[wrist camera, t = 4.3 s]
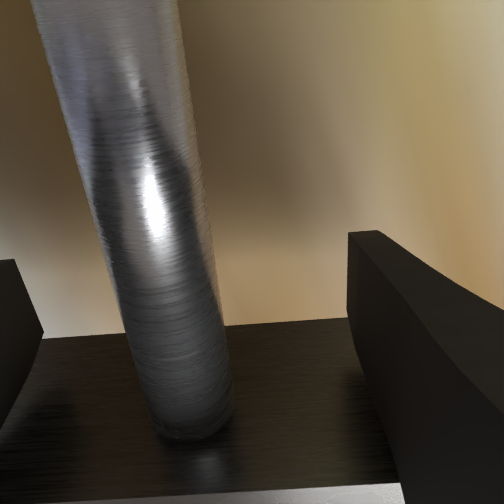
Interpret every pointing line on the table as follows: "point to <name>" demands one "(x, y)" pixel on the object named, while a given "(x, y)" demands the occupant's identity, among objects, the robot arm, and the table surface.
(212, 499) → the shaft
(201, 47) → the table surface
